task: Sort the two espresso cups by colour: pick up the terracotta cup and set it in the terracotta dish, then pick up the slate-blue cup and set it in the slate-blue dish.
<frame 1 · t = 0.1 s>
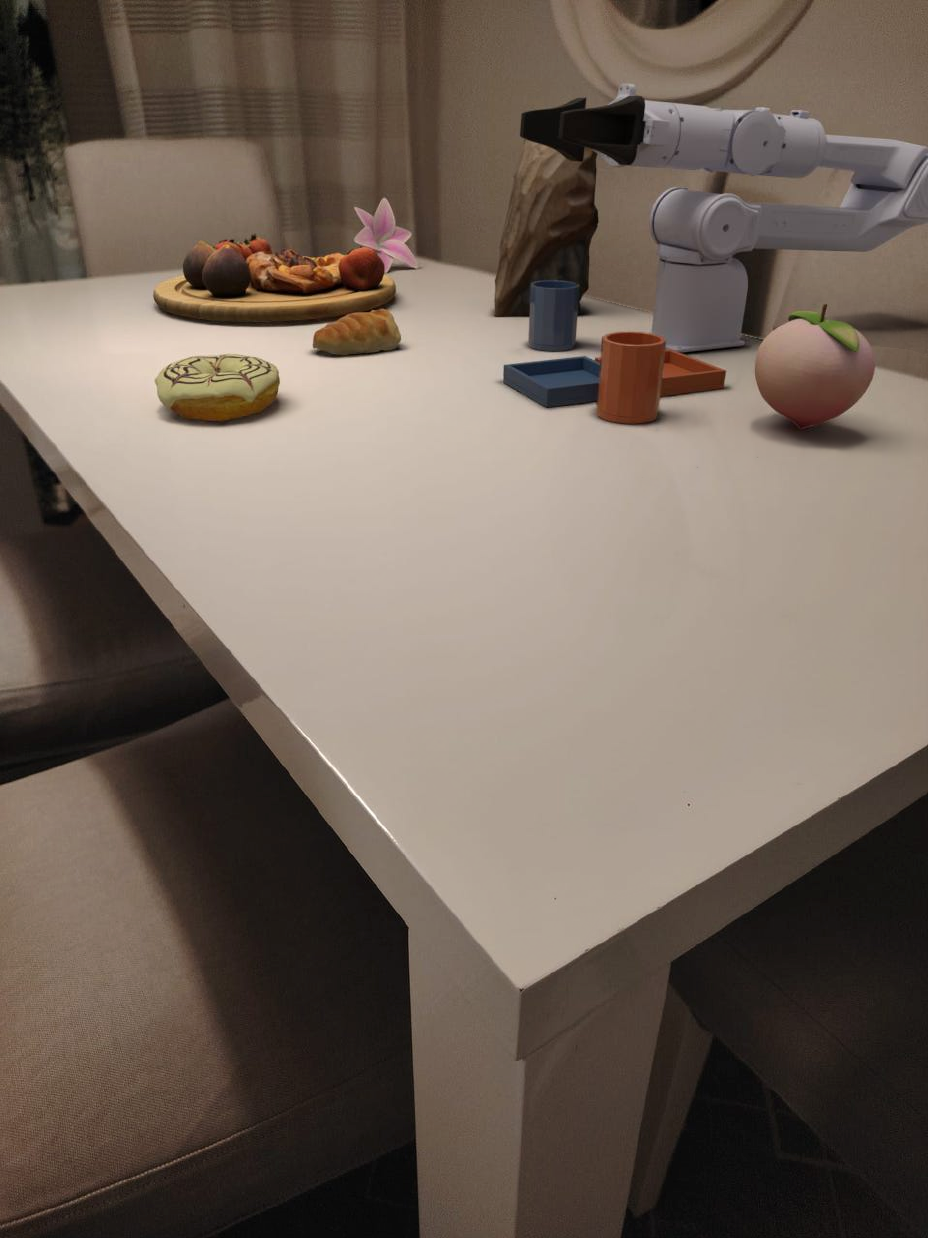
hand: (540, 124, 84), 22 cm above the table, tool horizontal, fingers open, 7 cm apart
wooden plate: (278, 302, 123), on the table
lily: (384, 269, 146), on the table
decorated donut: (222, 408, 81), on the table
pastry: (360, 350, 99), on the table
brown rock: (530, 310, 118), on the table
blue cup: (551, 345, 101), on the table
terracotta cup: (626, 414, 79), on the table
terracotta dish: (657, 381, 88), on the table
blue dish: (566, 389, 86), on the table
decorative fruit: (797, 431, 76), on the table
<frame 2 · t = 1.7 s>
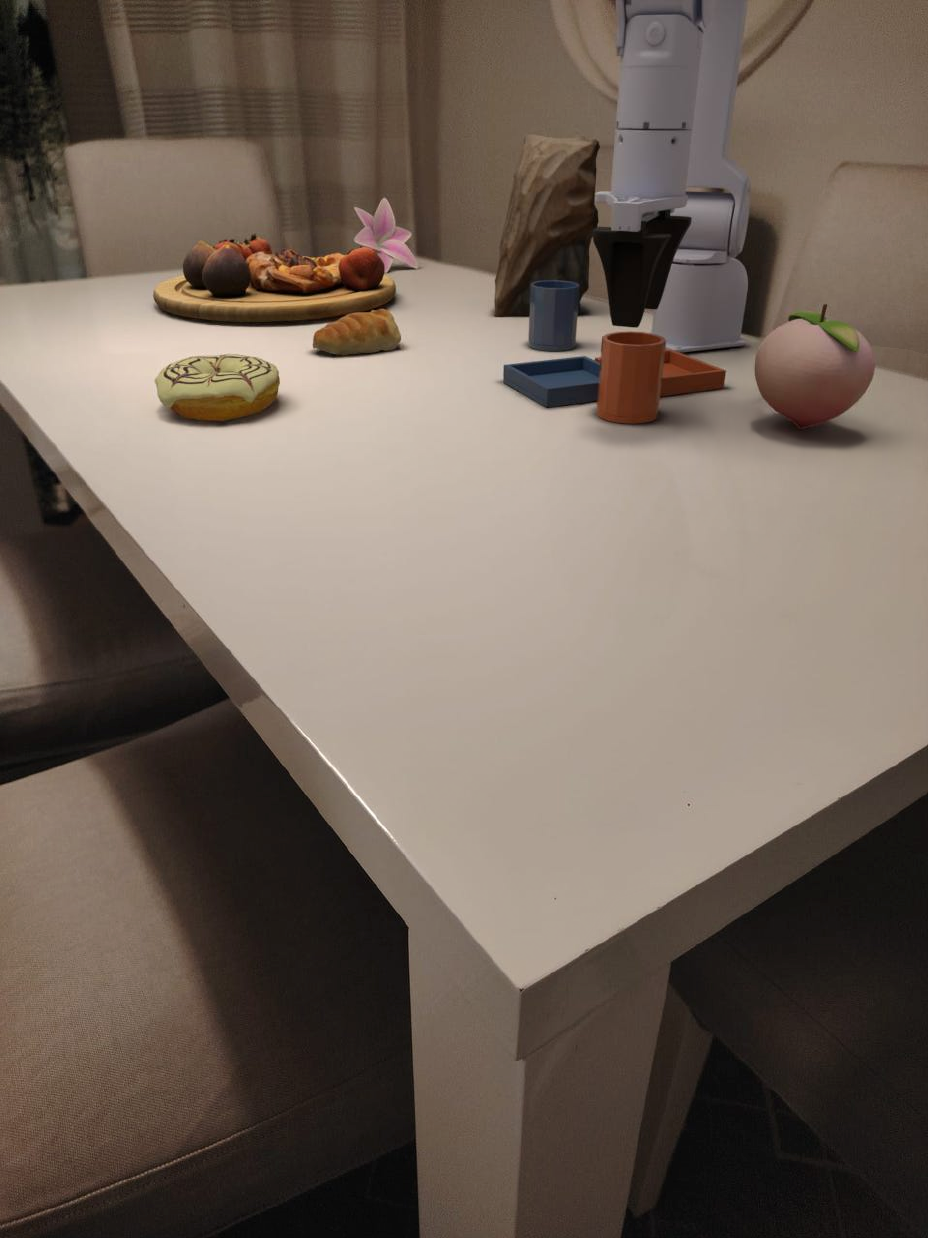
hand: (635, 316, 75), 8 cm above the table, tool pointing down, fingers open, 7 cm apart
nothing on the table moved.
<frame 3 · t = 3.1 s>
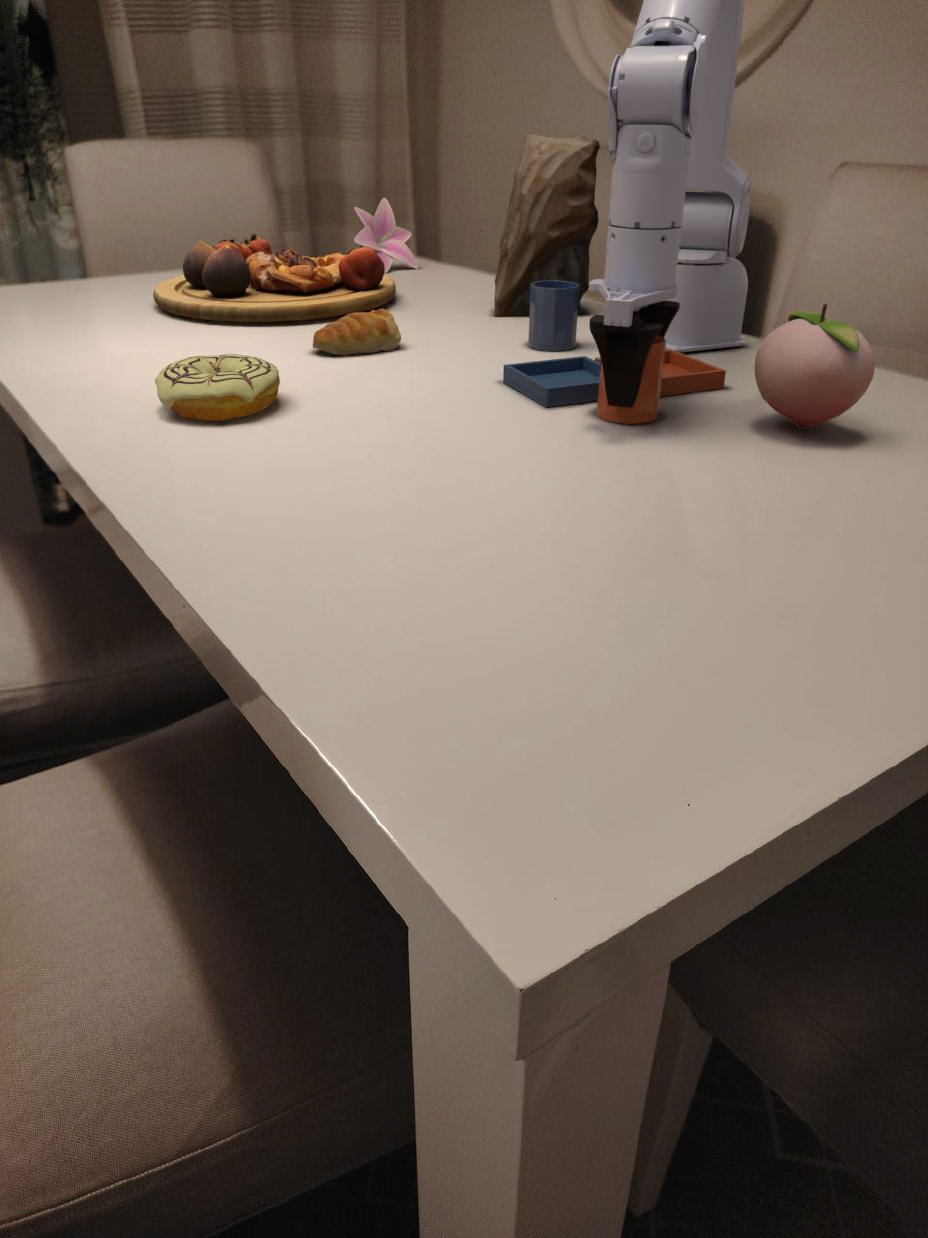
hand: (628, 396, 78), 2 cm above the table, tool pointing down, fingers closed on terracotta cup, 5 cm apart
terracotta cup: (626, 414, 79), on the table, touching gripper
everything else where it was.
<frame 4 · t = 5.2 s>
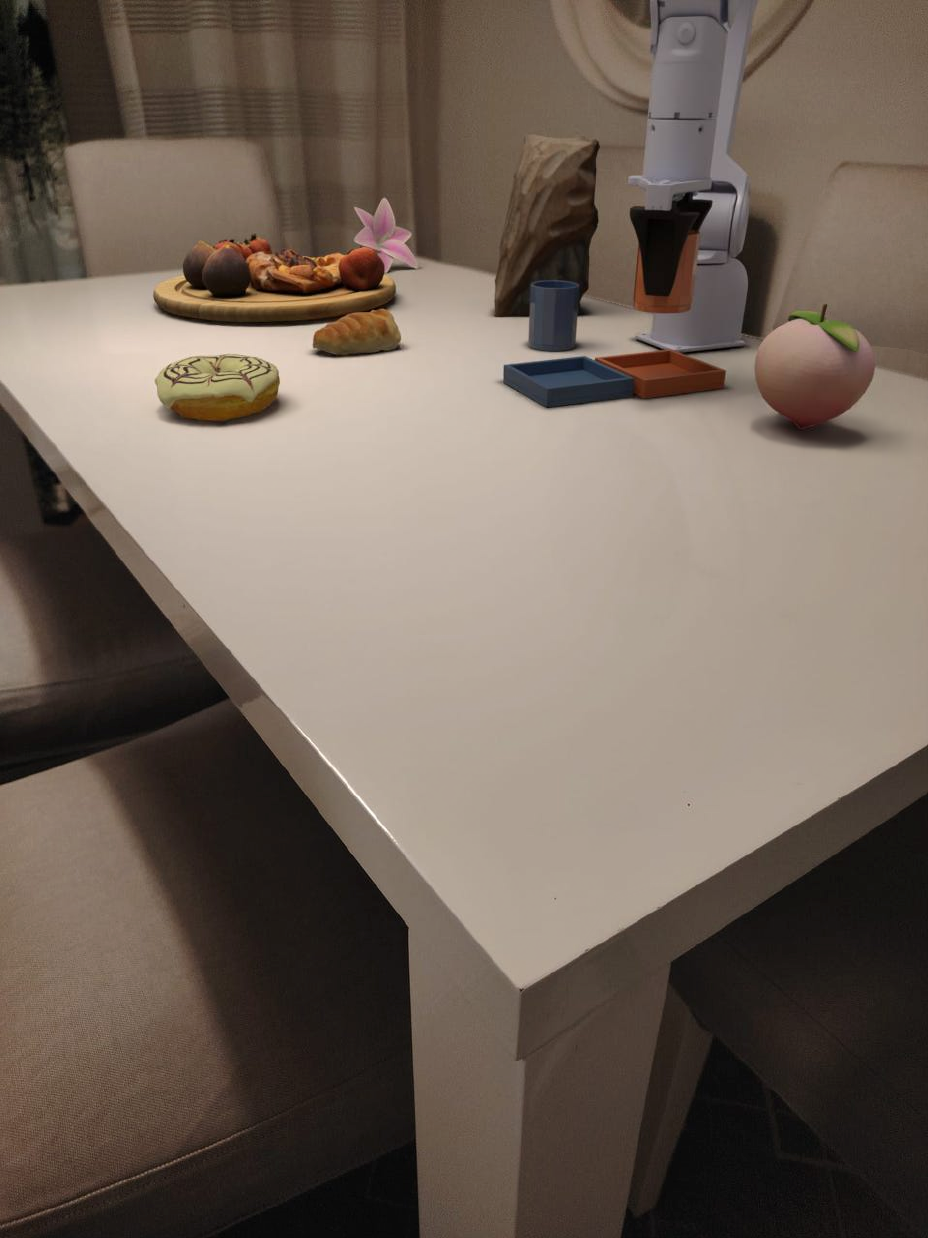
hand: (663, 289, 82), 9 cm above the table, tool pointing down, fingers closed on terracotta cup, 5 cm apart
terracotta cup: (661, 307, 83), point 7 cm above the table, touching gripper
everything else where it was.
when the fingers open (2 cm above the table, at t = 7.5 s): terracotta cup stays where it is, resting on terracotta dish.
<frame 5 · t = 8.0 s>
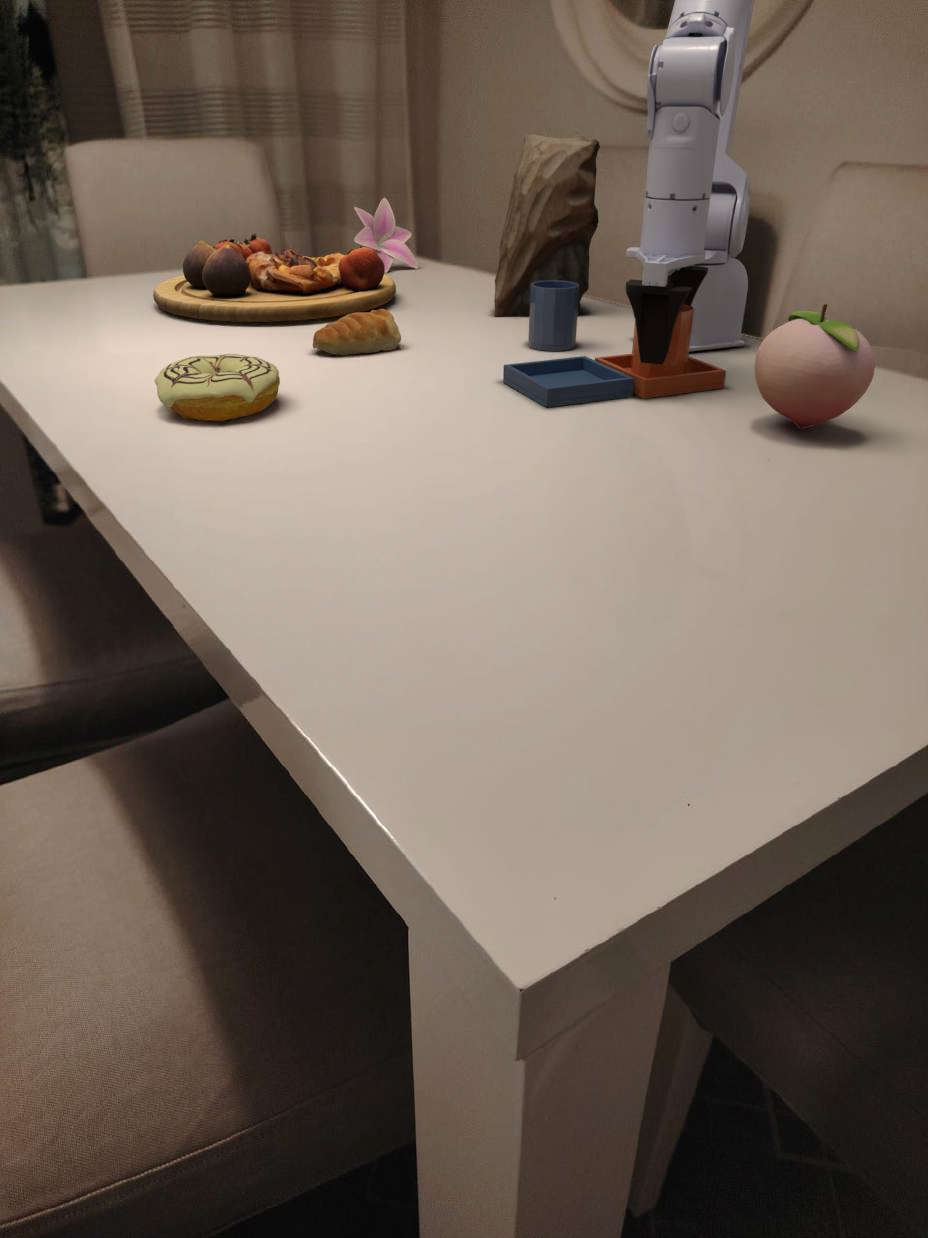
hand: (660, 353, 87), 3 cm above the table, tool pointing down, fingers open, 7 cm apart
terracotta cup: (657, 376, 88), resting on terracotta dish
everything else where it was.
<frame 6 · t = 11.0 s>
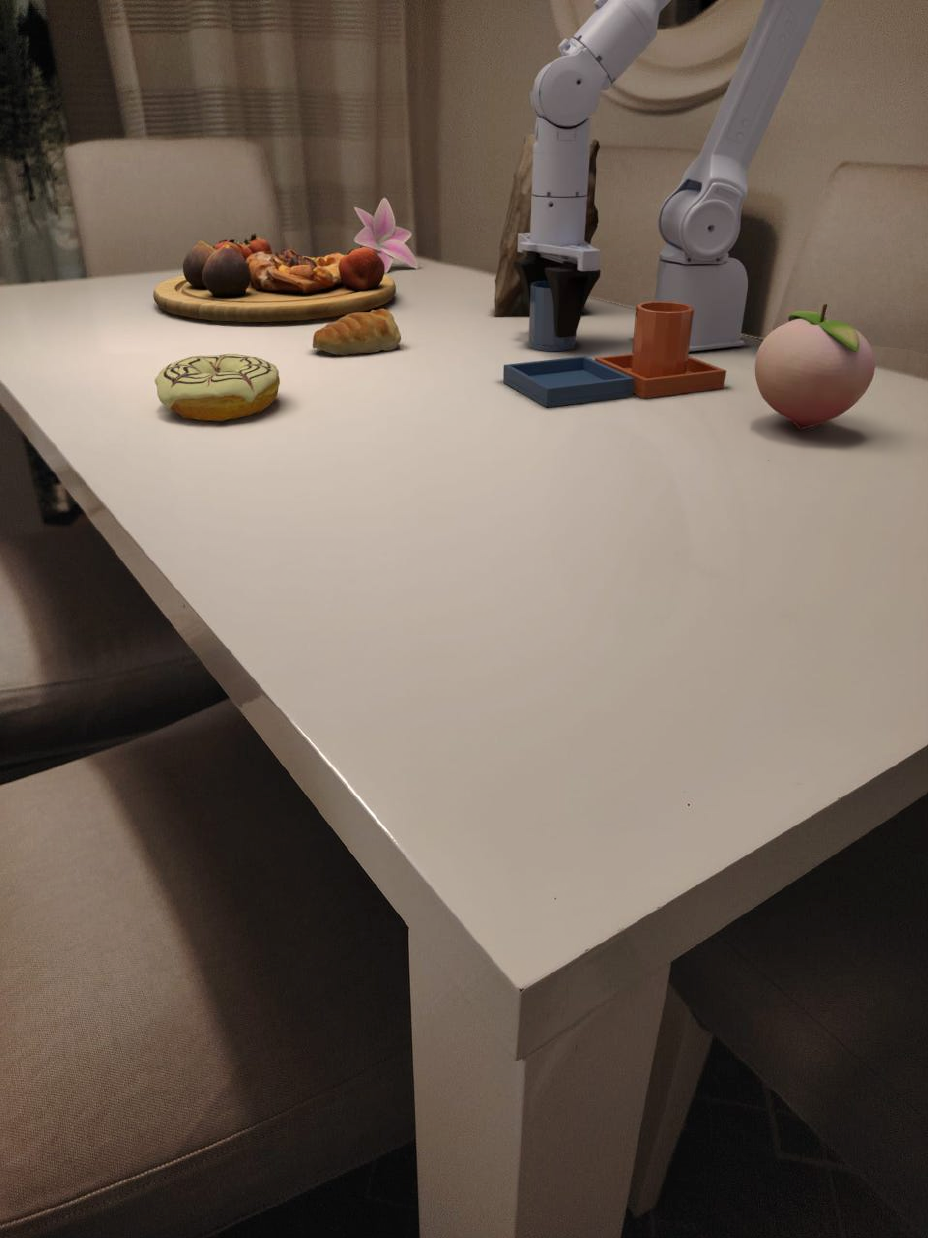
hand: (552, 330, 100), 2 cm above the table, tool pointing down, fingers closed on blue cup, 5 cm apart
blue cup: (551, 345, 101), on the table, touching gripper
everything else where it was.
when the fingers open (2 cm above the table, at t = 15.9 s): blue cup stays where it is, resting on blue dish.
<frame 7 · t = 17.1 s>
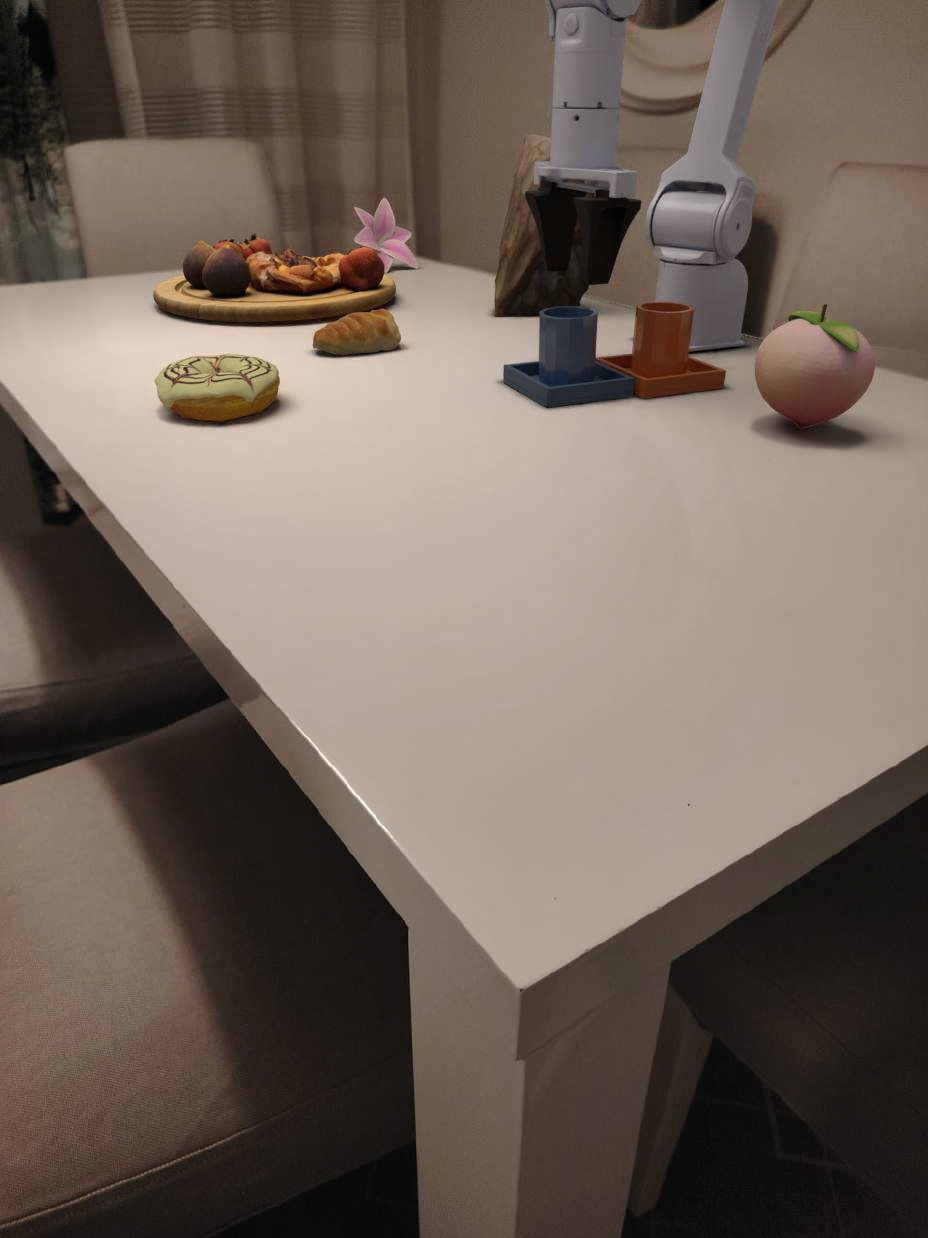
hand: (575, 277, 84), 10 cm above the table, tool pointing down, fingers open, 7 cm apart
blue cup: (566, 383, 85), point 1 cm above the table, touching blue dish
everything else where it was.
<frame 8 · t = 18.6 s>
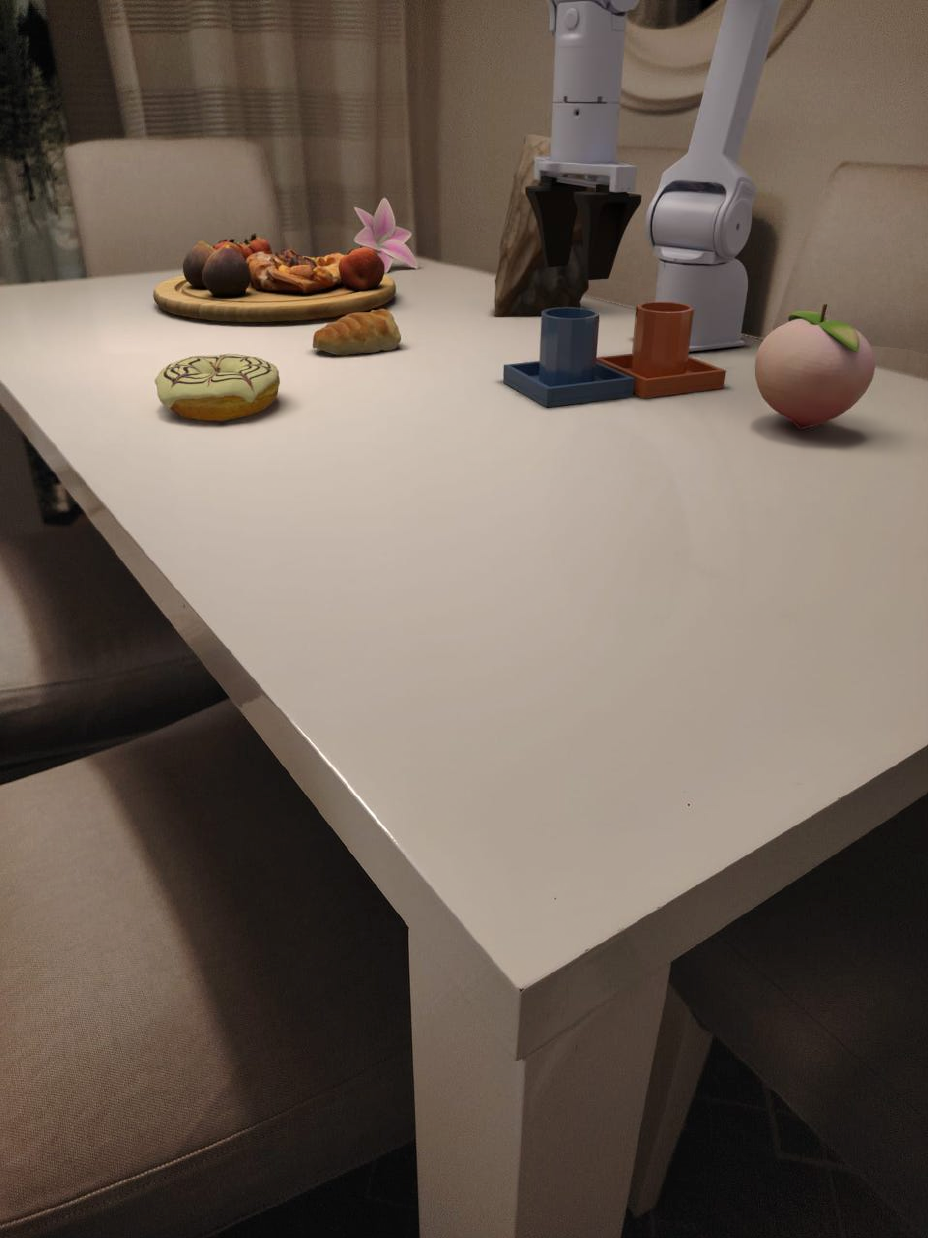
hand: (575, 272, 84), 10 cm above the table, tool pointing down, fingers open, 7 cm apart
nothing on the table moved.
at the end: terracotta cup inside the target area in the terracotta dish (0.0 cm from its centre), point 0.5 cm above the terracotta dish's base; blue cup inside the target area in the blue dish (0.1 cm from its centre), point 0.5 cm above the blue dish's base; blue cup tilted 0° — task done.
